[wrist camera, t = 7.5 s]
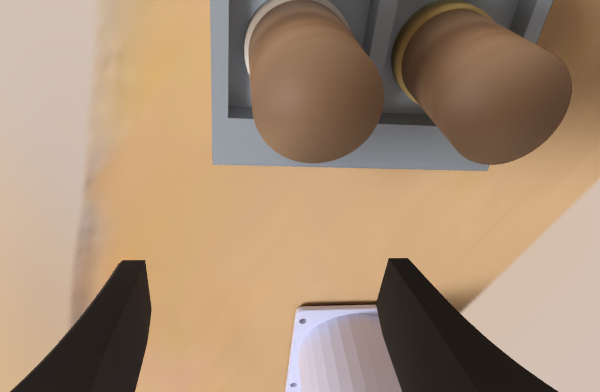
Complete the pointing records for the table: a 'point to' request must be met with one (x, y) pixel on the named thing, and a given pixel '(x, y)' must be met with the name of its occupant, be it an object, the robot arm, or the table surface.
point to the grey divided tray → (378, 46)
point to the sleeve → (480, 81)
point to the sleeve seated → (310, 81)
